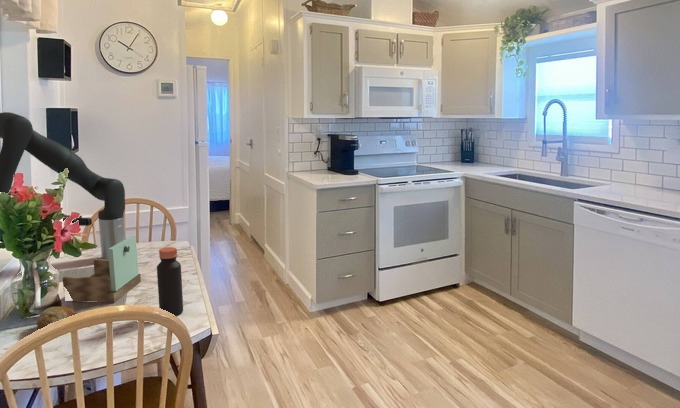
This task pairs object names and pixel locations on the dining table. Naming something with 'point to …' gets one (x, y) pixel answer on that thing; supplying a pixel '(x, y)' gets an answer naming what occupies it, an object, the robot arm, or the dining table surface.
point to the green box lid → (123, 262)
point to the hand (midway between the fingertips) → (90, 221)
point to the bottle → (169, 281)
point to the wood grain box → (97, 285)
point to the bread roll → (53, 315)
